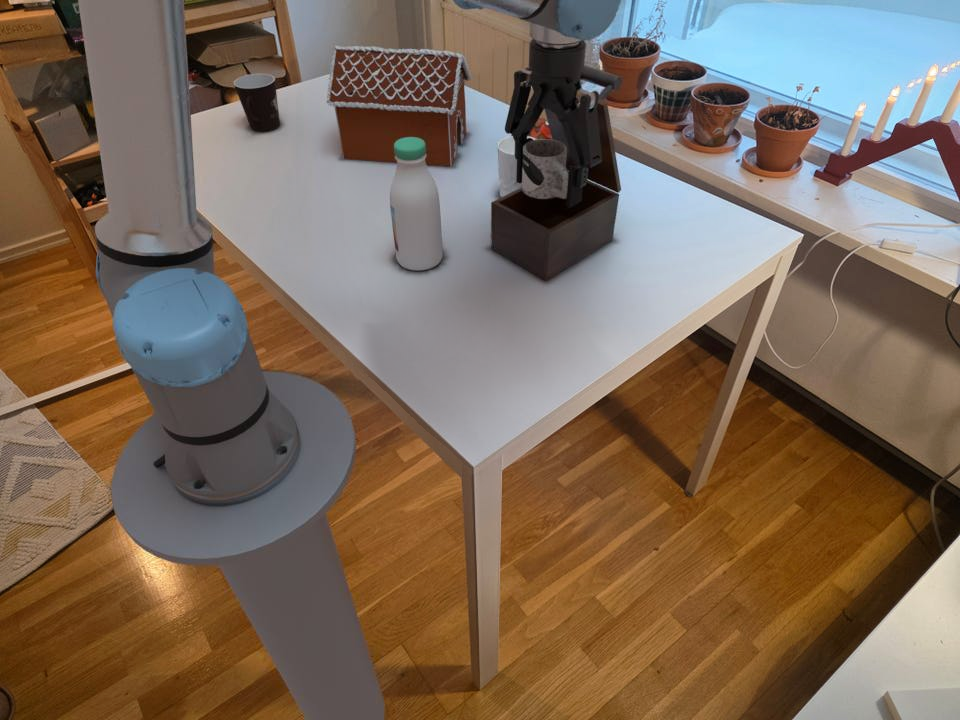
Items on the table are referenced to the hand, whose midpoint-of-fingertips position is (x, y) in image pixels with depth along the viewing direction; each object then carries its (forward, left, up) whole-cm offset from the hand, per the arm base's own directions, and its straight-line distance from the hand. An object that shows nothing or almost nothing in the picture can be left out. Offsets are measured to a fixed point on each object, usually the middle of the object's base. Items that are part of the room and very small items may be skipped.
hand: (548, 191), depth 101 cm
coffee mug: (-27, +72, -11) cm, 78 cm away
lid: (+6, +2, +6) cm, 9 cm away
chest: (+2, 0, -11) cm, 11 cm away
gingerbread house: (-3, +47, -11) cm, 49 cm away
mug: (0, 0, 0) cm, 0 cm away
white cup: (+6, +17, -11) cm, 21 cm away
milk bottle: (-19, +8, -11) cm, 24 cm away
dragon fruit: (+18, +29, -11) cm, 36 cm away
